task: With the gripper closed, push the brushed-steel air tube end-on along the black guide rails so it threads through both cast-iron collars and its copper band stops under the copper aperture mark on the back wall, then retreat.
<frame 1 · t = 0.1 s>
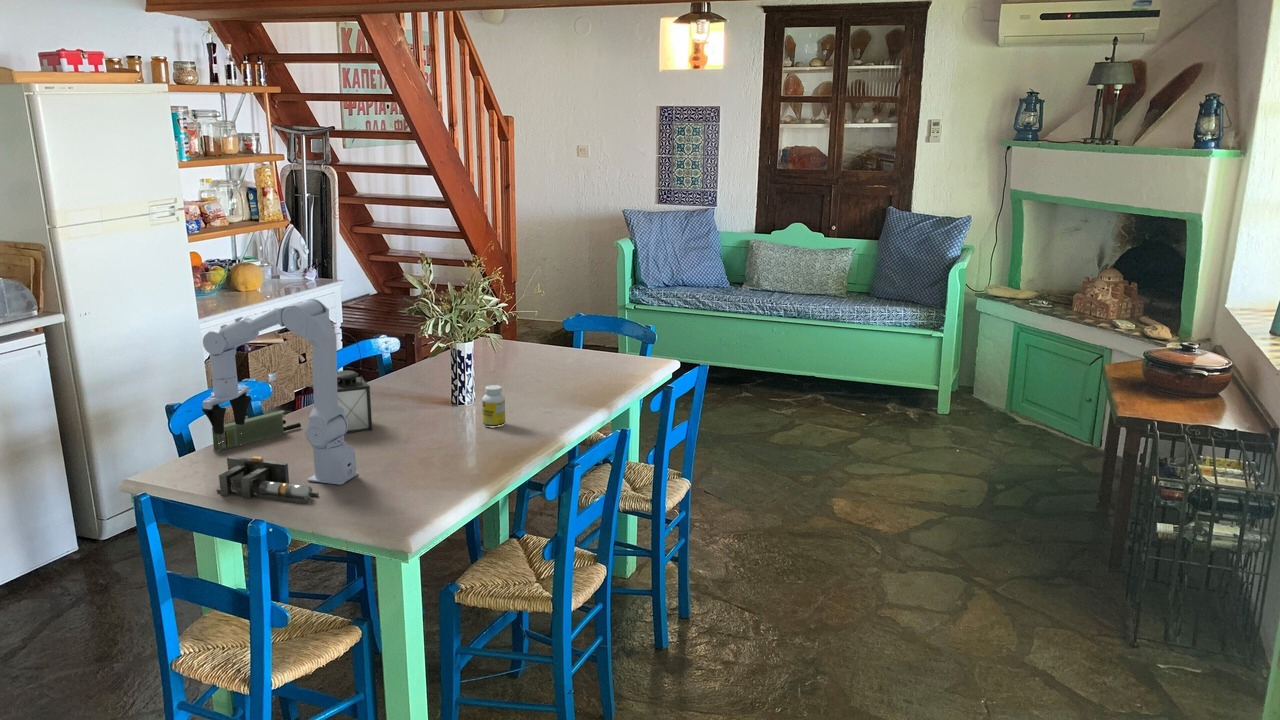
hand: (229, 428, 237), 10 cm above the table, fingers open, 7 cm apart
lantern: (349, 428, 271), on the table
handheld radio: (259, 440, 260), on the table
air tube: (286, 496, 221), resting on collar fixture
collar fixture: (251, 488, 225), on the table
pill bottle: (494, 426, 275), on the table
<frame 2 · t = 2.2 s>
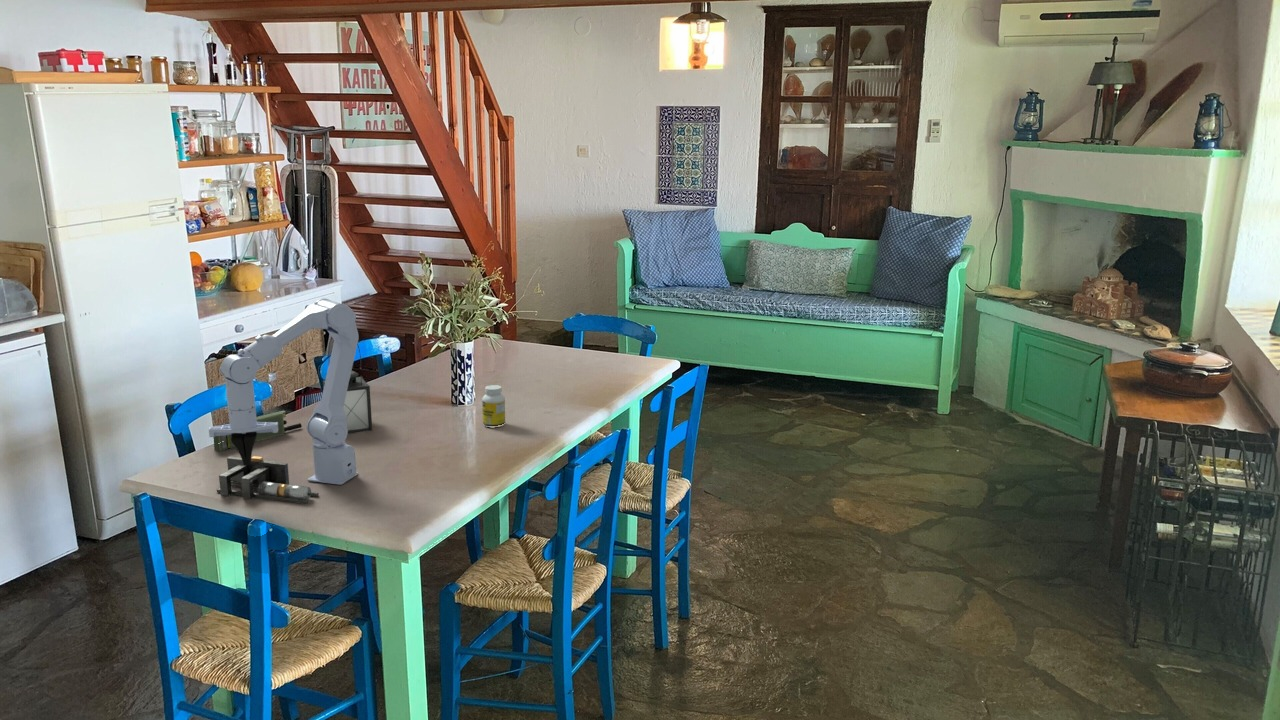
hand: (247, 463, 217), 9 cm above the table, fingers closed
air tube: (286, 496, 221), resting on collar fixture, tilted 18°
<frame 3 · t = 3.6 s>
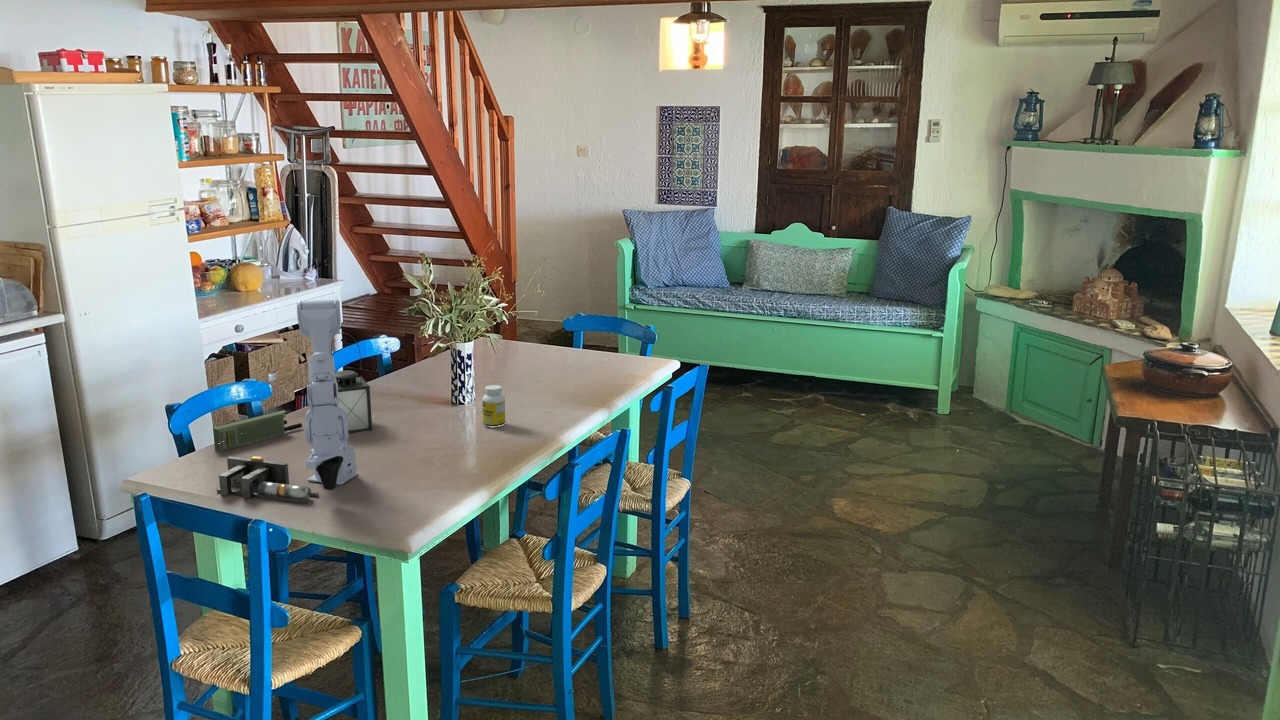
hand: (329, 488, 217), 4 cm above the table, fingers closed
air tube: (286, 496, 221), resting on collar fixture, tilted 18°
everything else where it was.
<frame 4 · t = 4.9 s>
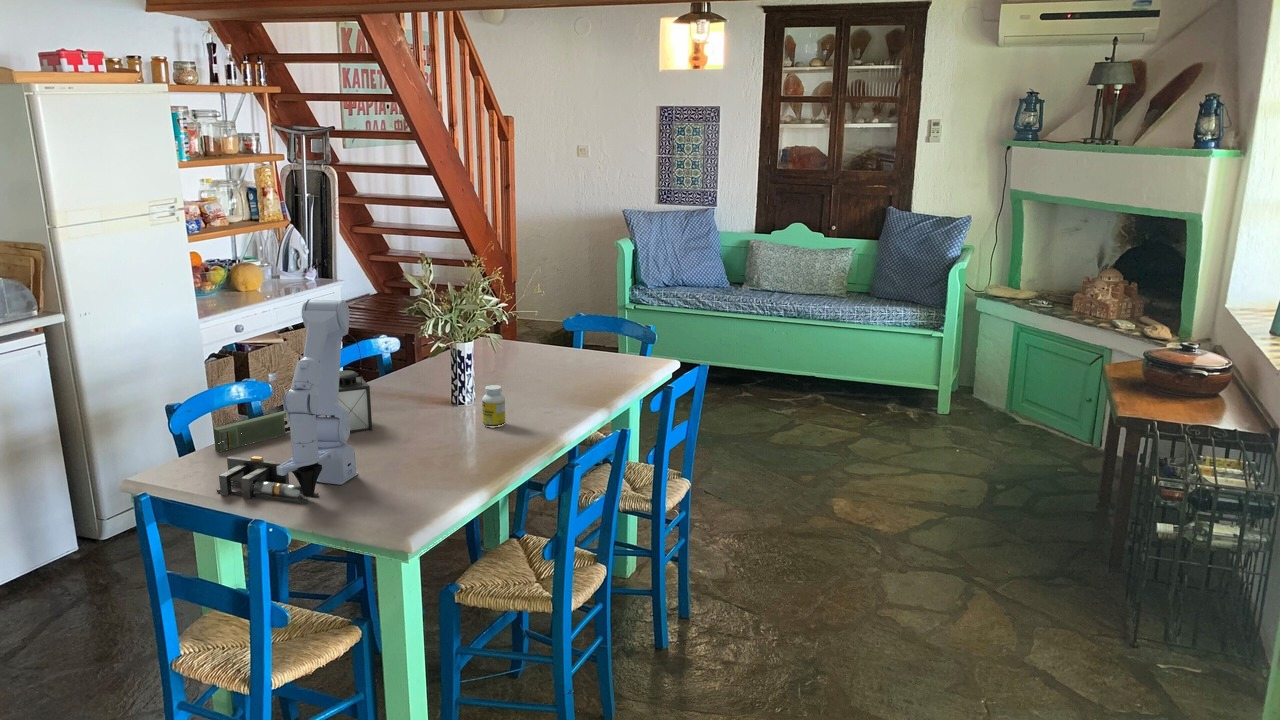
hand: (308, 495, 219), 1 cm above the table, fingers closed
air tube: (281, 495, 221), resting on collar fixture, tilted 17°, touching gripper
everything else where it was.
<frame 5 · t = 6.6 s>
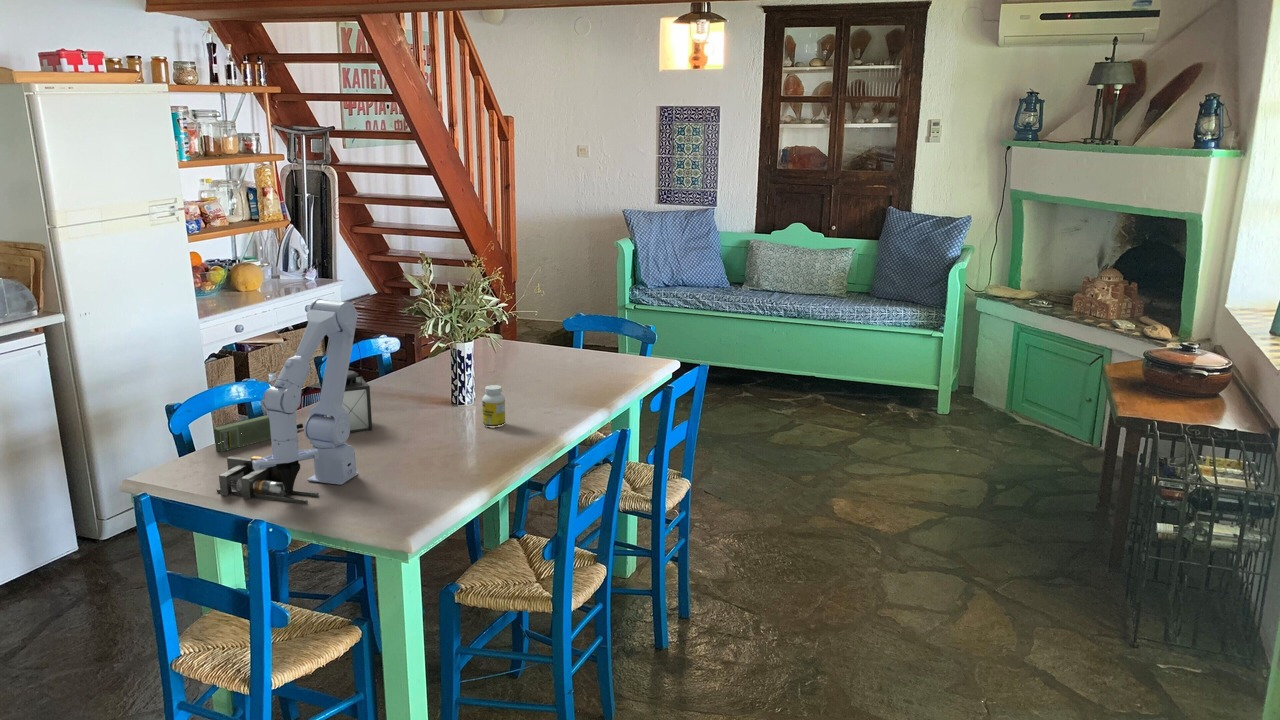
hand: (288, 492, 220), 1 cm above the table, fingers closed
air tube: (263, 492, 223), resting in collar fixture, tilted 10°, touching gripper
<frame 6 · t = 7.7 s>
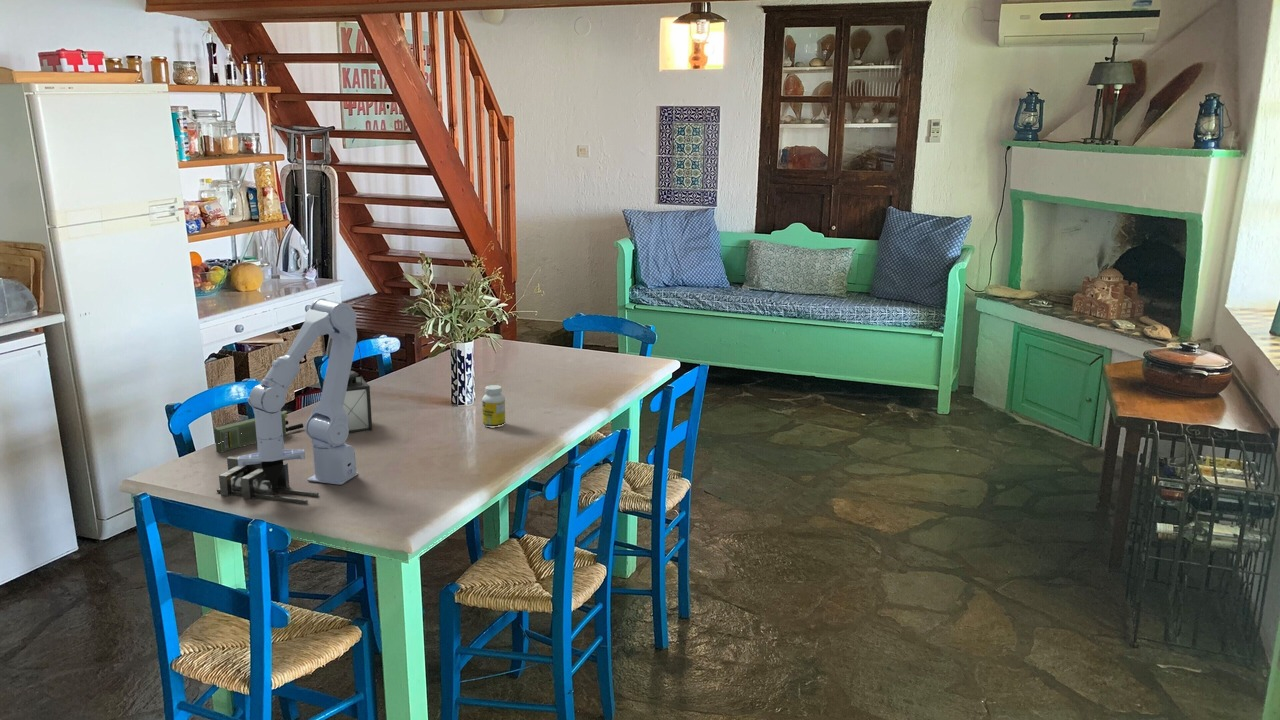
hand: (274, 490, 221), 1 cm above the table, fingers closed
air tube: (250, 490, 224), resting in collar fixture, touching gripper
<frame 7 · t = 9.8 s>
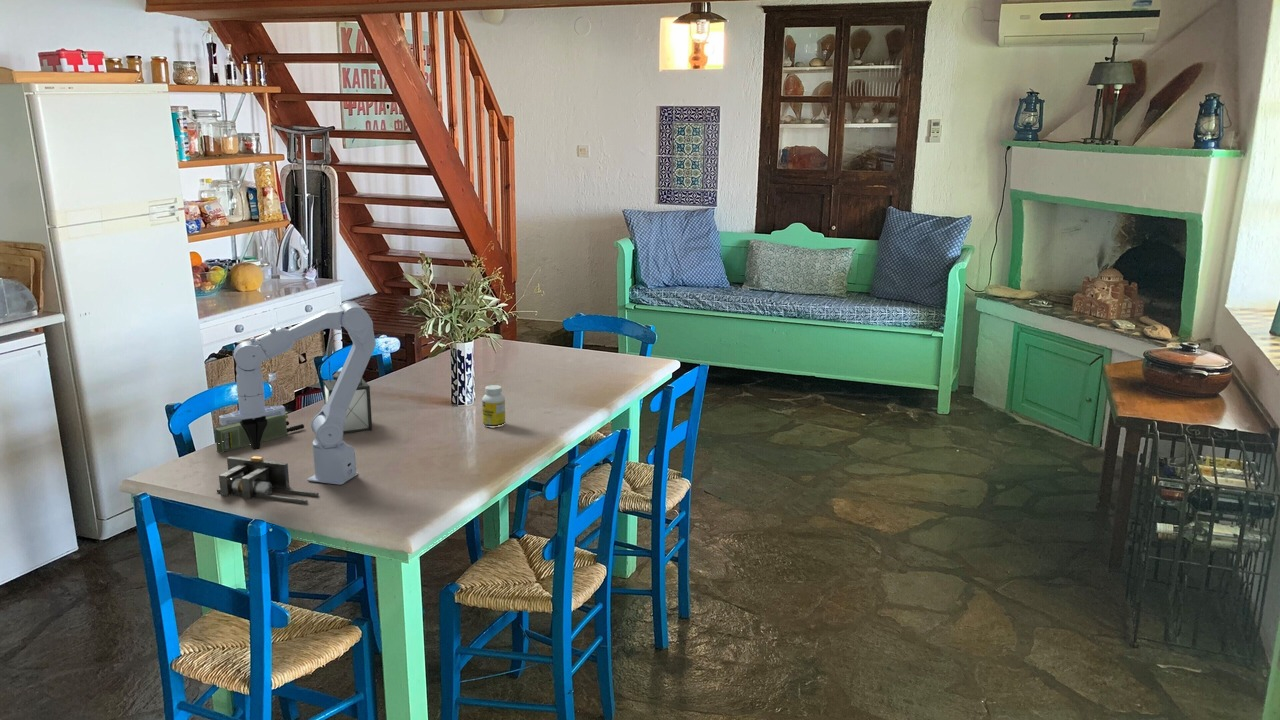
hand: (255, 448, 223), 10 cm above the table, fingers closed
air tube: (249, 489, 224), resting in collar fixture, tilted 38°
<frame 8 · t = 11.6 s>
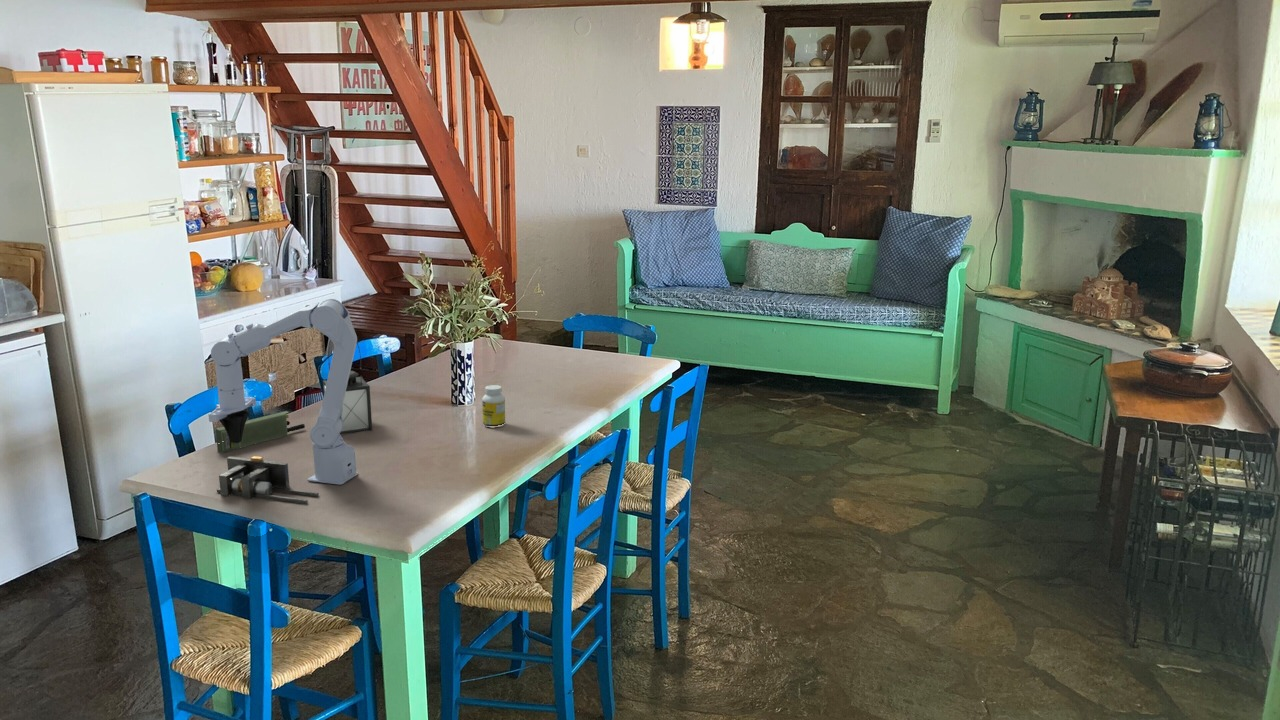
hand: (236, 442, 228), 10 cm above the table, fingers closed
at the end: air tube 0.8 cm from the target spot on the collar fixture, point 0.4 cm above the collar fixture's base; air tube moved 10.4 cm from its start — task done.
